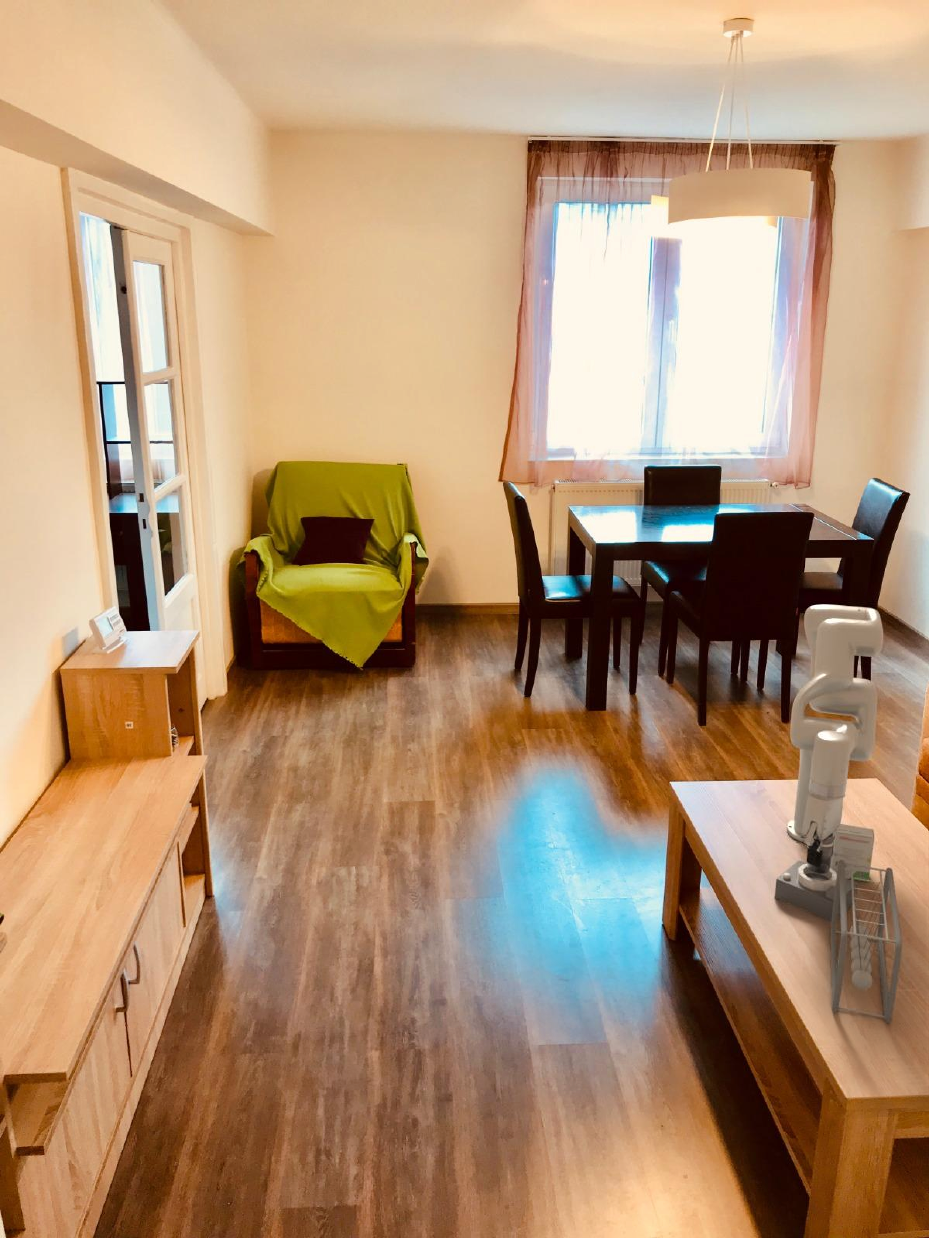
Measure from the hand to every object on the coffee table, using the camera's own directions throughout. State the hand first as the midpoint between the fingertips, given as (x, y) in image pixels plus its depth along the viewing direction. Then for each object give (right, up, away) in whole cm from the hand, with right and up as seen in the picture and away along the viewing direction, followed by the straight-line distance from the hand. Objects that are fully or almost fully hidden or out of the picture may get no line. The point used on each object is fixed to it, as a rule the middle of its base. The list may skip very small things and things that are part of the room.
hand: (819, 858), depth 218 cm
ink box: (+12, -7, +14) cm, 20 cm away
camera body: (0, -10, +3) cm, 11 cm away
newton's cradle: (0, -18, -21) cm, 28 cm away
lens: (0, -2, +1) cm, 2 cm away
